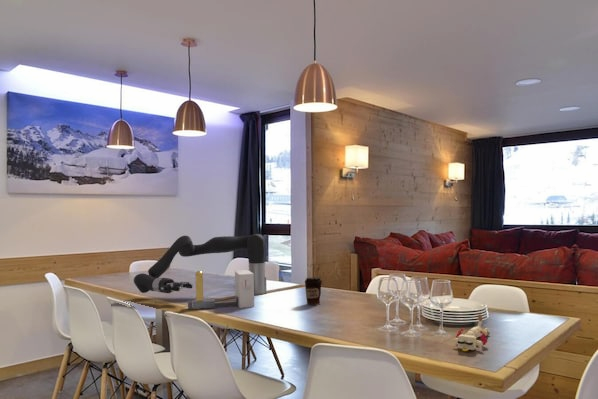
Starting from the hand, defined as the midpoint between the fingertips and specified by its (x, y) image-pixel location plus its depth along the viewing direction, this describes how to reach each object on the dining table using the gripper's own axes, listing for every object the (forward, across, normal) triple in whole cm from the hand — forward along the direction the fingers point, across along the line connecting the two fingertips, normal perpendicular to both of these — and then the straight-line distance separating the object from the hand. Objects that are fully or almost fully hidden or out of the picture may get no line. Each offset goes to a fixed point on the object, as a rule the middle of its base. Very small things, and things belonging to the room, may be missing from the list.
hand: (185, 287), depth 230 cm
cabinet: (+24, -17, -9) cm, 31 cm away
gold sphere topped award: (+11, -2, -9) cm, 14 cm away
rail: (+14, -6, -9) cm, 18 cm away
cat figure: (+136, -4, -10) cm, 136 cm away
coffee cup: (+54, -33, -10) cm, 64 cm away
